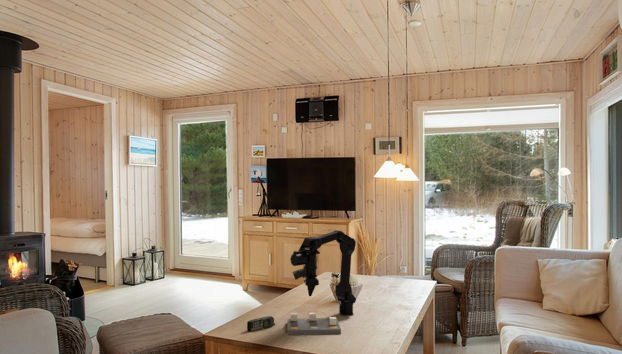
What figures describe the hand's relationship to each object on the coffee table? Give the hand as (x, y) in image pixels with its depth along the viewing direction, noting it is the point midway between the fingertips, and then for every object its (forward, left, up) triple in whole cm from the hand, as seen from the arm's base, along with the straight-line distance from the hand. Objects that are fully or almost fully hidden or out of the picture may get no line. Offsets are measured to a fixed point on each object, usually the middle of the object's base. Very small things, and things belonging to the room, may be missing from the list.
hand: (310, 296), depth 207 cm
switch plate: (-1, +6, -13) cm, 15 cm away
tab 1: (+8, +1, -11) cm, 14 cm away
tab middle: (-1, +1, -11) cm, 11 cm away
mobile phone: (+23, +5, -14) cm, 27 cm away
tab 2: (-10, +8, -11) cm, 17 cm away
